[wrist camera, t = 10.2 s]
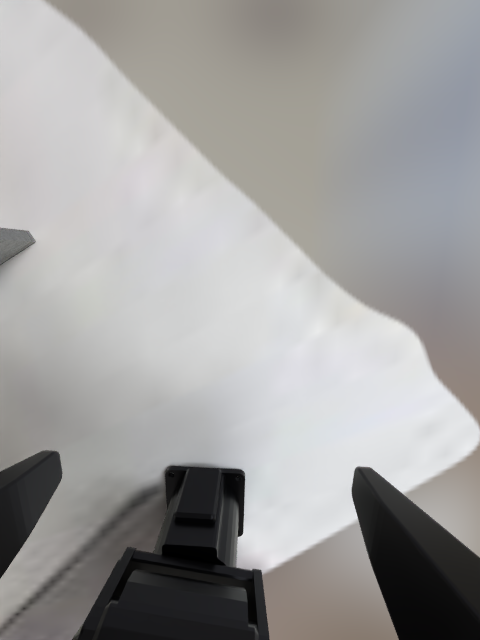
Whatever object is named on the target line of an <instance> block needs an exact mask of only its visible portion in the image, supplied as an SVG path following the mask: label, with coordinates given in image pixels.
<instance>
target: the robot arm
mask: <svg viewBox="0 0 480 640" xmlns="http://www.w3.org/2000/svg"><path fill="white" fill-rule="evenodd" d="M170 472H172V473H174V474H172V473H170ZM237 476H241V477H237ZM165 478H166V499H167V513H166V516H165V519H164V522H163V525H162V528H161V531H160V534H159V537H158V540H157V543H156V546H155V549H154V552H153V553H149V552H144V551H138V550H136V548H131V547H127V549H126V551H125V553H124V554H123V556H122V558H121V560H118V562H117V564H116V566H115V568H114V569H113V571H112V573H111V575H110V577H109V578H108V580H107V582H106V584H105V586H104V587H103V589H102V591H101V593H100V595H99V596H98V598H97V600H96V602H95V604H94V605H93V607H92V609H91V611H90V613H89V615H88V616H87V618H86V620H85V622H84V623H83V625H82V626H81V628H80V629H79V630H78V632H77V633H76V634H75V636H74V637H73V639H72V640H269V631H268V623H267V614H266V606H265V597H264V589H263V580H262V572H261V570H258V569H253V570H247V569H241V568H236V560H237V540H238V537H240V536H241V535H242V534H243V521H244V492H245V473H244V471H242V470H237V469H218V468H199V467H181V466H170V467H168V469H167V471H166V474H165ZM61 479H62V467H61V460H60V454H59V453H58V452H57V451H49V450H45V451H41V452H39V453H37V454H35V455H33V456H31V457H29V458H27V459H25V460H23V461H21V462H19V463H17V464H15V465H13V466H11V467H9V468H7V469H5V470H3V471H1V472H0V578H1V577H2V576H3V574H4V573H5V571H6V570H7V568H8V567H9V565H10V564H11V562H12V561H13V559H14V558H15V556H16V555H17V553H18V552H19V551H20V549H21V548H22V546H23V545H24V543H25V541H26V540H27V538H28V537H29V535H30V533H31V532H32V530H33V529H34V527H35V525H36V523H37V522H38V520H39V518H40V516H41V515H42V513H43V511H44V509H45V508H46V506H47V504H48V502H49V501H50V499H51V497H52V496H53V494H54V492H55V490H56V489H57V487H58V485H59V483H60V481H61ZM352 498H353V502H354V505H355V509H356V513H357V516H358V520H359V524H360V527H361V531H362V535H363V538H364V542H365V545H366V549H367V552H368V556H369V559H370V562H371V565H372V568H373V571H374V574H375V576H376V579H377V582H378V584H379V587H380V590H381V592H382V595H383V598H384V600H385V603H386V606H387V608H388V611H389V614H390V617H391V619H392V622H393V625H394V627H395V630H396V633H397V635H398V638H399V640H480V557H478V556H477V555H476V554H475V553H474V552H472V551H471V550H470V549H469V548H468V547H466V546H465V545H464V544H463V543H462V542H460V541H459V540H458V539H457V538H456V537H454V536H453V535H452V534H451V533H449V532H448V531H447V530H446V529H445V528H443V527H442V526H441V525H440V524H439V523H437V522H436V521H435V520H434V519H432V518H431V517H430V516H429V515H428V514H426V513H425V512H424V511H423V510H422V509H420V508H419V507H418V506H417V505H416V504H414V503H413V502H412V501H411V500H409V499H408V498H407V497H406V496H405V495H403V494H402V493H401V492H400V491H399V490H397V489H396V488H395V487H394V486H392V485H391V484H390V483H389V482H388V481H386V480H385V479H384V478H383V477H382V476H380V475H379V474H378V473H377V472H376V471H374V470H373V469H372V468H370V467H356V468H355V471H354V478H353V485H352Z"/></svg>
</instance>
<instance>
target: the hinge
mask: <svg viewBox="0 0 480 640" xmlns="http://www.w3.org/2000/svg"><path fill="white" fill-rule="evenodd" d="M34 242H36V241H35V240H34V238H33V237H32V235H31V234H30V232H29V231H24V230H15V229H6V228H0V265H1V264H2V263H4V262H5V261H7V260H8V259H10V258H11V257H13V256H14V255H16V254H17V253H19V252H20V251H22V250H24V249H25V248H27V247H28V246H30V245H31V244H33V243H34Z"/></svg>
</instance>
